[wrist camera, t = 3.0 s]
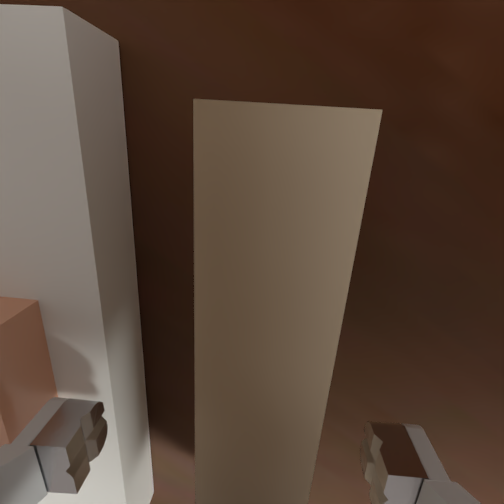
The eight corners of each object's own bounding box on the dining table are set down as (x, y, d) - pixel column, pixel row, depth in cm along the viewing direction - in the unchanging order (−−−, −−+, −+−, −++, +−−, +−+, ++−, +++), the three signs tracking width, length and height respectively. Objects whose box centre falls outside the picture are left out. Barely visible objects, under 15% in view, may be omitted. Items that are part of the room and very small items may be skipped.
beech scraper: (322, 127, 10) (382, 109, 4) (276, 476, 15) (275, 673, 10) (242, 122, 10) (192, 98, 4) (226, 469, 15) (195, 660, 10)
